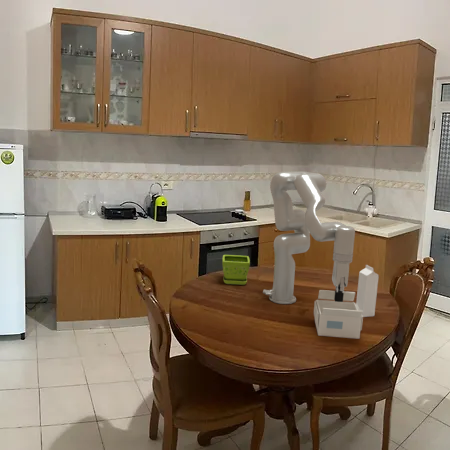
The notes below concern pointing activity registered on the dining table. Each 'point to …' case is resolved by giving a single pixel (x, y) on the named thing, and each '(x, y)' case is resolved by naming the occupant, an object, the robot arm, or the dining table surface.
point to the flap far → (331, 294)
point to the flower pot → (230, 269)
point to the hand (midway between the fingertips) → (338, 300)
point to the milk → (367, 291)
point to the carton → (337, 320)
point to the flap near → (342, 312)
